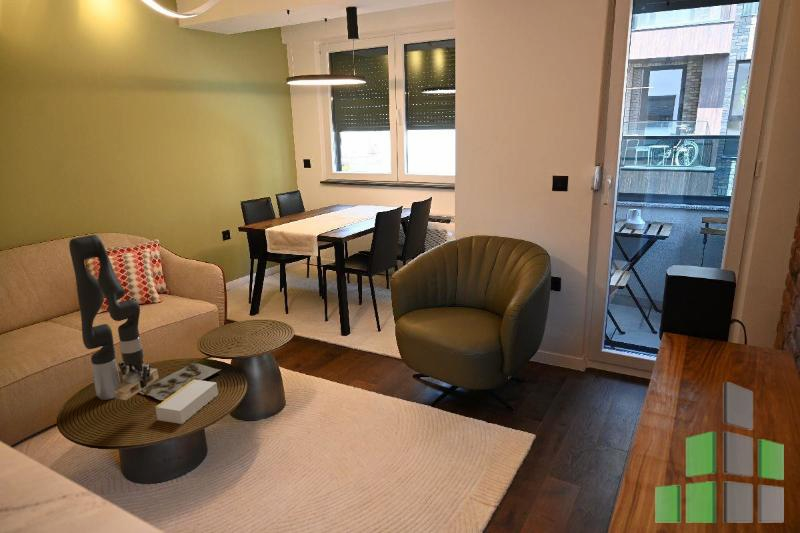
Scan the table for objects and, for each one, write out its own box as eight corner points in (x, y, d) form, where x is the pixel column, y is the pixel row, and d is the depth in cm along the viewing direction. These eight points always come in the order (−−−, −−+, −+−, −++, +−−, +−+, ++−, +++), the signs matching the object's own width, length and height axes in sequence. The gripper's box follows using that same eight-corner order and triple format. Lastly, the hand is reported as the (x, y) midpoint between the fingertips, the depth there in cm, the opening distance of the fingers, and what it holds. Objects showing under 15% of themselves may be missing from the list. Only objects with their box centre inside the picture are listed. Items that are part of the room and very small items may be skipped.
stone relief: (136, 394, 228) (163, 404, 218) (135, 388, 228) (162, 398, 217) (196, 365, 255) (223, 373, 245) (195, 360, 254) (222, 368, 244)
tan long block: (115, 398, 198) (113, 388, 197) (149, 377, 215) (147, 367, 214) (126, 400, 197) (124, 389, 196) (158, 378, 213) (157, 368, 212)
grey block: (123, 382, 201) (122, 375, 200) (132, 377, 205) (130, 370, 204) (132, 384, 200) (131, 377, 199) (140, 379, 204) (139, 371, 203)
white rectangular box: (157, 420, 206) (155, 406, 204) (195, 391, 228) (193, 379, 227) (182, 424, 203) (180, 410, 201) (218, 394, 225) (216, 382, 223)
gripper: (109, 350, 199) (116, 388, 204) (139, 354, 196) (145, 393, 200) (124, 342, 206) (130, 380, 211) (153, 346, 203) (159, 384, 207)
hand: (138, 386), depth 206 cm, fingers closed on tan long block, 5 cm apart
